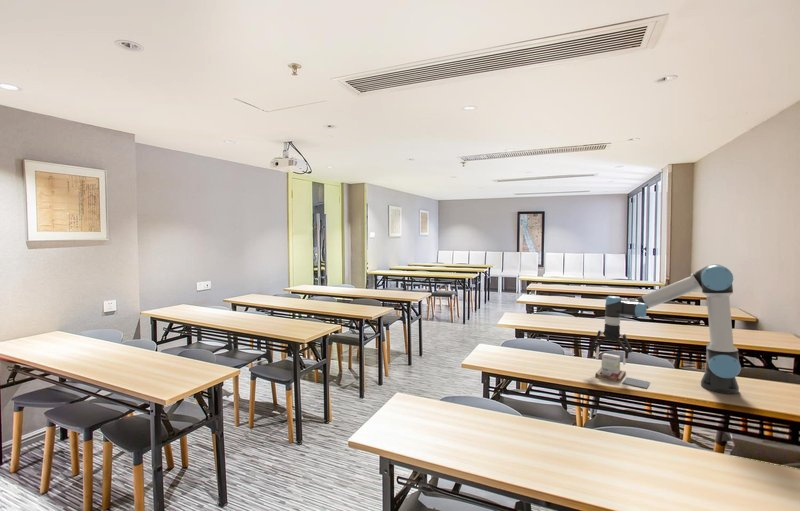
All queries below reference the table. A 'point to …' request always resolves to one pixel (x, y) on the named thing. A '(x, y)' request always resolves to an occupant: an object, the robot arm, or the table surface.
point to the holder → (618, 379)
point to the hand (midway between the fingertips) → (610, 361)
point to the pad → (636, 382)
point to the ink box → (610, 365)
